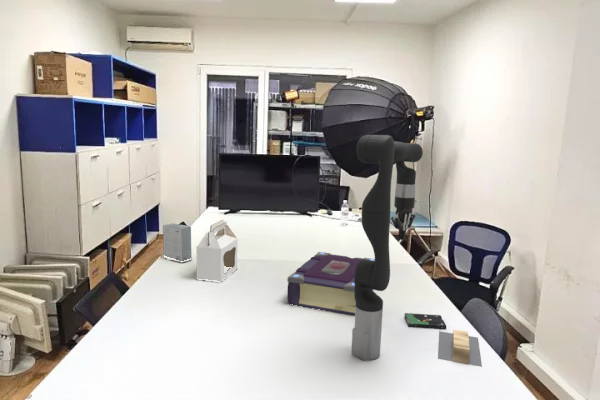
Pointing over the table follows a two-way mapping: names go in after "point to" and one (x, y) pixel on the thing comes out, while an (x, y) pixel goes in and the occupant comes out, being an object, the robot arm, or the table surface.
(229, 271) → the gable box
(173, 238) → the hard drive box
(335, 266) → the book
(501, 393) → the table surface
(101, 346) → the table surface
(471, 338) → the rubber mat
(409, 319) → the disk drive
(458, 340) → the oak block
